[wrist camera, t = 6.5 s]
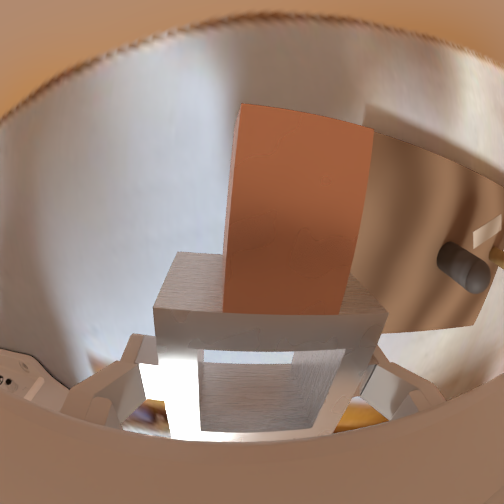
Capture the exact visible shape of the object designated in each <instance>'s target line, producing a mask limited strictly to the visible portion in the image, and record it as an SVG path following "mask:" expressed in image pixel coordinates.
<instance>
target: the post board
mask: <svg viewBox="0 0 504 504" xmlns="http://www.w3.org/2000/svg"><path fill="white" fill-rule="evenodd" d="M503 250H504V187H502V186H501V185H499V184H497V183H495V182H494V181H492V180H490V179H488V178H486V177H484V176H482V175H481V174H479V173H477V172H475V171H473V170H471V169H469V168H467V167H465V166H462V165H460V164H458V163H456V162H454V161H452V160H449V159H447V158H445V157H443V156H440V155H438V154H436V153H433V152H431V151H428V150H426V149H423V148H421V147H418V146H415V145H413V144H410V143H407V142H404V141H402V140H399V139H396V138H393V137H390V136H387V135H384V134H381V133H377V132H374V136H373V146H372V154H371V162H370V170H369V177H368V184H367V190H366V196H365V202H364V208H363V214H362V219H361V224H360V229H359V234H358V239H357V244H356V248H355V253H354V257H353V262H352V266H351V270H350V273H351V274H352V275H353V276H354V277H355V278H356V279H357V280H358V281H359V282H360V283H361V284H362V285H363V286H364V287H365V288H366V289H367V290H368V291H369V292H370V294H371V295H372V296H373V297H374V298H375V299H376V300H377V301H378V302H379V303H380V304H381V305H382V306H383V307H384V308H385V309H386V310H387V311H388V313H389V315H388V318H387V320H386V323H385V326H384V328H383V331H382V333H401V332H415V331H427V330H438V329H447V328H456V327H464V326H471V325H474V323H475V321H476V319H477V317H478V314H479V312H480V310H481V308H482V306H483V304H484V301H485V299H486V297H487V294H488V292H489V289H490V287H491V284H492V282H493V279H494V277H495V274H496V271H497V268H498V266H499V267H501V268H502V269H504V251H503ZM382 333H381V334H382Z"/></svg>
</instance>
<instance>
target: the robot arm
mask: <svg viewBox="0 0 504 504" xmlns="http://www.w3.org/2000/svg"><path fill="white" fill-rule="evenodd" d="M356 396H360V397H361V398H362V399H363V400H365V401H366V402H367V403H368V404H370V405H371V406H372V407H373V408H374V409H376V410H377V411H378V412H379V413H381V414H382V415H383V416H385V417H386V418H387V419H388V420H390V421H388V422H384V423H380V424H376V425H372V426H368V427H364V428H360V429H355V430H350V431H345V432H340V433H334V434H328V435H322V436H315V437H307V438H299V439H289V440H277V441H258V442H217V441H198V440H186V439H176V438H167V437H160V436H153V435H146V434H141V433H135V432H130V431H125V430H123V428H122V426H121V423H122V422H123V421H124V420H125V419H126V418H127V417H129V416H130V415H131V414H132V413H133V412H134V411H135V410H136V409H137V408H138V407H139V406H140V405H141V404H142V403H143V402H144V401H145V400H146V398H149V399H158V400H165V399H164V393H163V387H162V381H161V375H160V368H159V361H158V353H157V345H156V336H149V335H141V334H134V333H133V334H132V335H131V336H130V338H129V341H128V343H127V345H126V348H125V350H124V353H123V355H122V357H121V360H120V361H115V362H113V363H112V364H110V365H108V366H107V367H105V368H103V369H102V370H100V371H99V372H97V373H95V374H94V375H92V376H90V377H89V378H87V379H85V380H84V381H82V382H80V383H79V384H77V385H75V386H74V387H72V388H71V389H70V390H69V389H67V388H66V387H65V386H63V385H62V384H60V383H59V382H58V381H56V380H55V379H54V378H53V377H52V376H50V374H49V373H48V372H47V371H46V370H45V369H44V368H43V367H42V366H41V365H40V363H39V362H38V361H37V360H35V359H34V358H33V357H31V356H29V355H25V354H20V353H16V352H12V351H7V350H3V349H0V504H504V373H503V374H501V375H499V376H497V377H495V378H494V379H492V380H490V381H488V382H486V383H485V384H483V385H481V386H479V387H477V388H475V389H473V390H471V391H468V392H466V393H464V394H462V395H460V396H458V397H455V398H453V399H451V400H448V401H446V399H445V398H444V397H443V395H442V394H441V393H440V391H439V390H438V389H437V387H436V386H435V384H433V383H431V382H429V381H427V380H426V379H424V378H422V377H420V376H418V375H416V374H414V373H412V372H410V371H408V370H407V369H405V368H403V367H401V366H399V365H397V364H395V363H394V362H389V360H388V359H387V358H386V356H385V355H384V353H383V352H382V350H381V349H380V348H379V346H378V345H377V346H376V348H375V350H374V353H373V355H372V357H371V359H370V362H369V364H368V366H367V368H366V370H365V373H364V375H363V377H362V379H361V381H360V383H359V385H358V387H357V389H356V391H355V393H354V395H353V397H356Z"/></svg>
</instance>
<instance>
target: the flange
mask: <svg viewBox="0 0 504 504" xmlns="http://www.w3.org/2000/svg"><path fill="white" fill-rule="evenodd" d="M373 136H374V129H371V128H368V127H364V126H361V125H357V124H353V123H349V122H346V121H342V120H337V119H333V118H329V117H324V116H320V115H315V114H310V113H305V112H300V111H294V110H288V109H282V108H275V107H269V106H261V105H253V104H244V103H241V106H240V109H239V113H238V116H237V119H236V123H235V127H234V136H233V145H232V155H231V165H230V175H229V185H228V196H227V207H226V219H225V231H224V244H223V255H221V254H206V253H191V252H177V254H176V256H175V258H174V260H173V262H172V265H171V267H170V269H169V271H168V273H167V276H166V278H165V280H164V282H163V285H162V287H161V289H160V292H159V294H158V296H157V299H156V301H155V303H154V306H153V315H154V326H155V336H156V345H157V353H158V361H159V368H160V375H161V381H162V387H163V393H164V399H165V405H166V410H167V415H168V420H169V425H170V429H171V434H172V438H176V439H186V440H198V441H217V442H258V441H277V440H289V439H299V438H307V437H315V436H322V435H328V434H332V433H333V431H334V429H335V427H336V426H337V424H338V422H339V421H340V419H341V417H342V415H343V414H344V412H345V410H346V408H347V406H348V404H349V403H350V401H351V399H352V397H353V395H354V393H355V391H356V389H357V387H358V385H359V383H360V381H361V379H362V377H363V375H364V373H365V370H366V368H367V366H368V364H369V362H370V359H371V357H372V355H373V353H374V350H375V348H376V346H377V343H378V341H379V338H380V336H381V333H382V331H383V328H384V326H385V323H386V320H387V318H388V315H389V313H388V311H387V310H386V309H385V308H384V307H383V306H382V305H381V304H380V303H379V302H378V301H377V300H376V299H375V298H374V297H373V296H372V295H371V294H370V292H369V291H368V290H367V289H366V288H365V287H364V286H363V285H362V284H361V283H360V282H359V281H358V280H357V279H356V278H355V277H354V276H353V275H352V274H351V273H350V270H351V266H352V262H353V257H354V253H355V248H356V244H357V239H358V234H359V229H360V224H361V219H362V214H363V208H364V202H365V196H366V190H367V184H368V177H369V170H370V162H371V154H372V146H373ZM204 349H205V350H223V351H256V352H284V351H294V355H293V359H292V363H291V364H232V363H210V362H204Z"/></svg>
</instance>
